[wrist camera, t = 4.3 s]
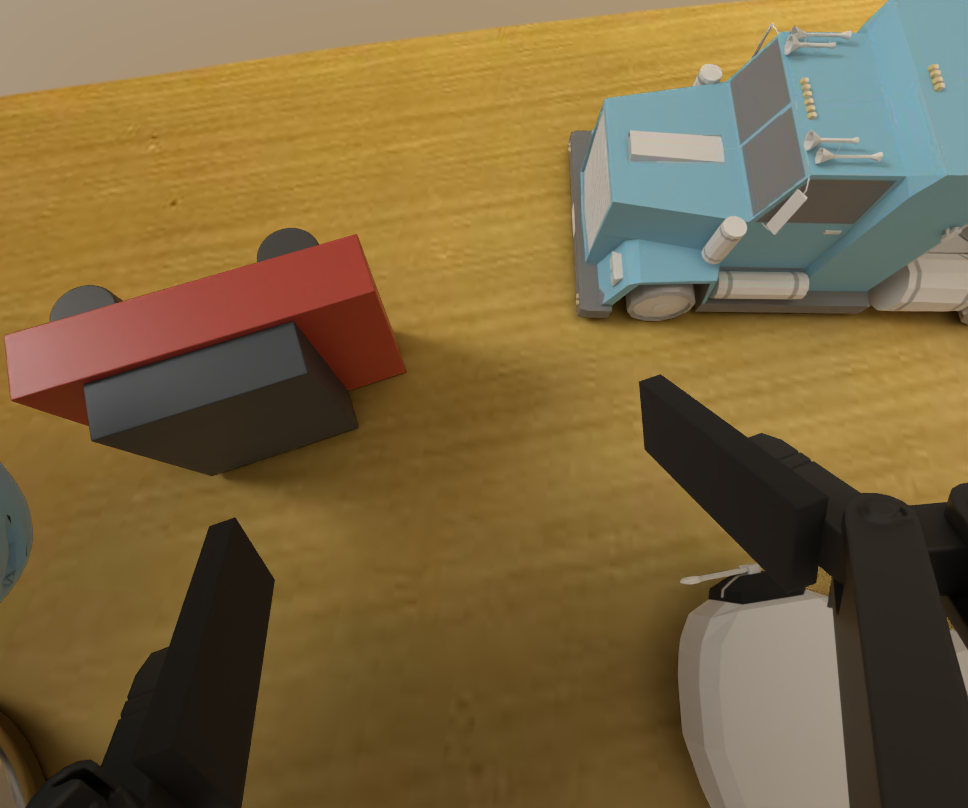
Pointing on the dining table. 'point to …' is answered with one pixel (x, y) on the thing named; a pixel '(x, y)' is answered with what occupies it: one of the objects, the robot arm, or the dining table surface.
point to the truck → (787, 179)
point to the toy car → (215, 357)
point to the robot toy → (765, 694)
